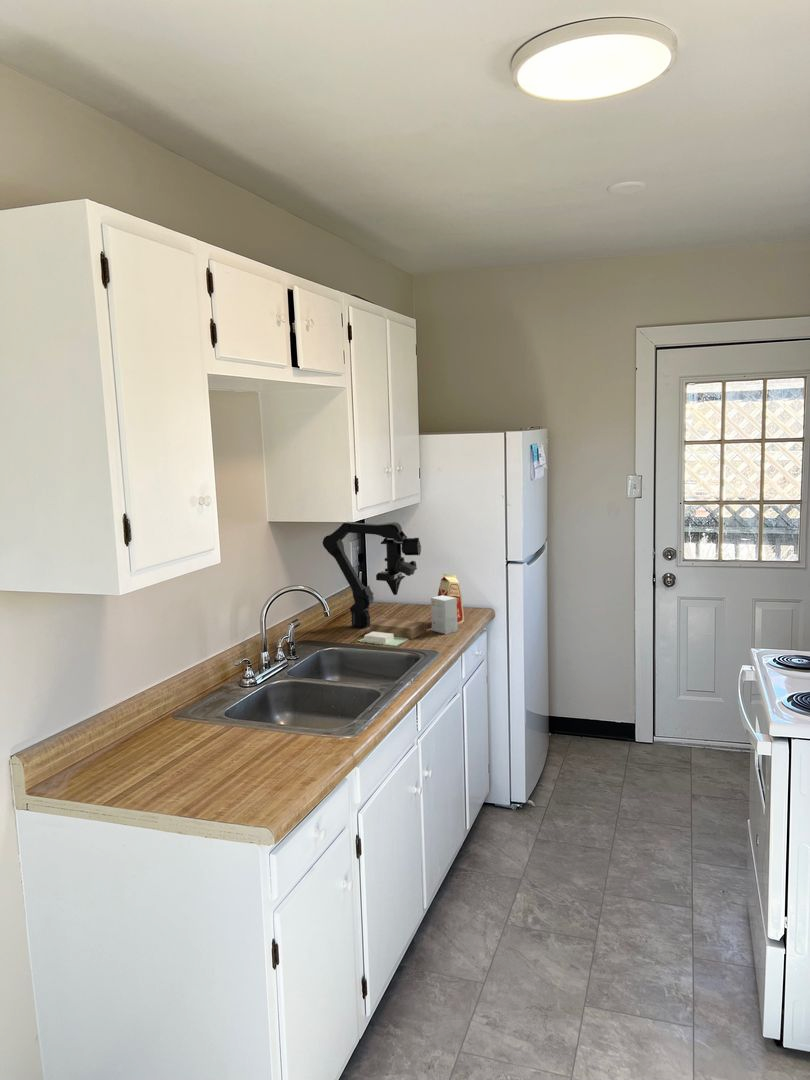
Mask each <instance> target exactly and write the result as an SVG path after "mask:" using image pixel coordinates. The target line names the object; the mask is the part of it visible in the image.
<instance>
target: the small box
mask: <svg viewBox="0 0 810 1080" xmlns="http://www.w3.org/2000/svg"><path fill="white" fill-rule="evenodd" d="M430 608H431V611H430V613H431V614H430V615H431V616H430V617H431V618H430V619H431V631H433V632H436V633H440V634H443V635H448V634H452V633H456V632H458V624H457V598H453V597H449V596H444V595H442V596H438V595H437V596H431V597H430Z"/></svg>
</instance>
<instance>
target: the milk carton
mask: <svg viewBox="0 0 810 1080" xmlns="http://www.w3.org/2000/svg"><path fill="white" fill-rule="evenodd" d="M442 595H444V596H449V597H453V598H457V625H459V624H463V622H464V623H465V617H464V616H465V615H464V614H465V613H464V605H463V598H462V597H463V596H462V591H461V585H460V582H459V580H458V579H457V574H447V573H443V577H442V578H441V580H440V582H439V588H438V591H437V596H442Z"/></svg>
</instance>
